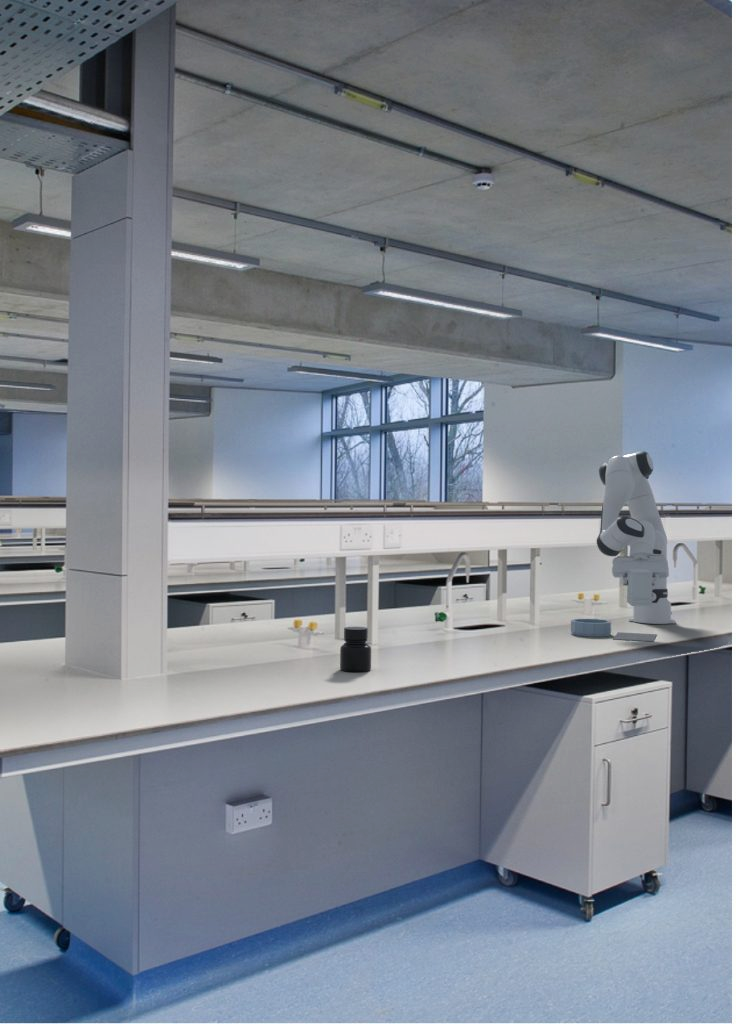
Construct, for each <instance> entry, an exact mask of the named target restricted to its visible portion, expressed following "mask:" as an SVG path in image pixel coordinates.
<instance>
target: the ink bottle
mask: <svg viewBox="0 0 736 1024" xmlns="http://www.w3.org/2000/svg"><path fill="white" fill-rule="evenodd" d="M368 631H369V629H368V627H366V626H347V627H344V628H343V640H344V643H343V644H342V645H341V646H340V650H339V651H340V654H339V655H340V656H339V658H340V659H339V669H340V670H341V671H343V672H349V673H363V672H369V671H370V670H371V669H372V646H371V645H369V643H367V642H368V638H369V637H368V634H369V632H368Z"/></svg>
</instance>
